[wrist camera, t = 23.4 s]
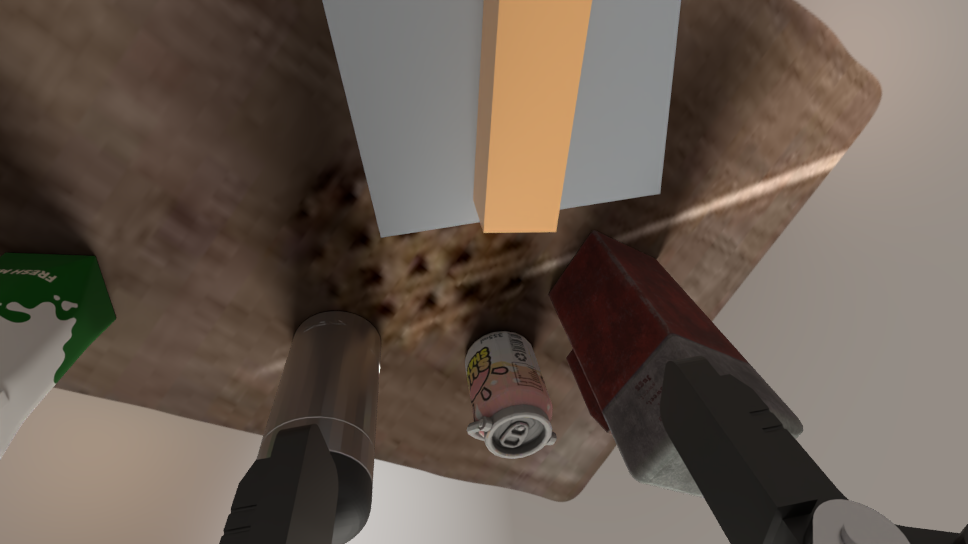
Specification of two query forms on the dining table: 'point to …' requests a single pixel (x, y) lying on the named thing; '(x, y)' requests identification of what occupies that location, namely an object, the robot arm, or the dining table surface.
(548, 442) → the beverage can
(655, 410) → the decanter
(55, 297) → the milk carton
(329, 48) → the dining table surface
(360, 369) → the robot arm
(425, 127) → the lid
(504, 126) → the light orange bar
